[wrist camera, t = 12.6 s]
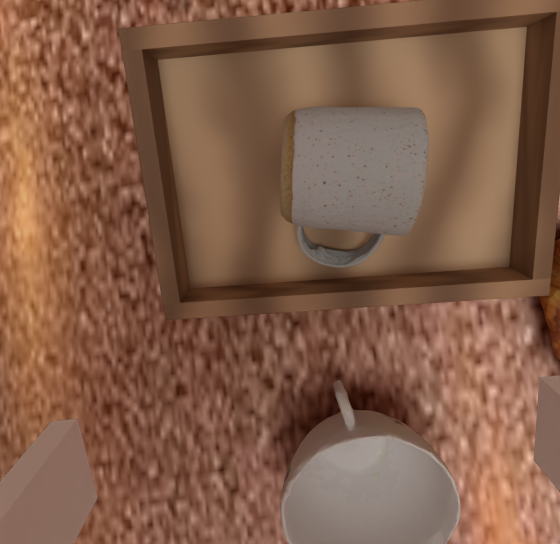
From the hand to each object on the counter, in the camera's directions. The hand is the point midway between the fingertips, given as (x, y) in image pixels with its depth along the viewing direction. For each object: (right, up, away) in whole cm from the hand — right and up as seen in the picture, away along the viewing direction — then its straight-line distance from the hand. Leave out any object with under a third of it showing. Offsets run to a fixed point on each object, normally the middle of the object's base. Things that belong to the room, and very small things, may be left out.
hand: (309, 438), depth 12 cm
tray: (+4, +12, +19) cm, 23 cm away
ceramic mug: (+4, +11, +19) cm, 22 cm away
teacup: (+5, -9, +25) cm, 27 cm away
